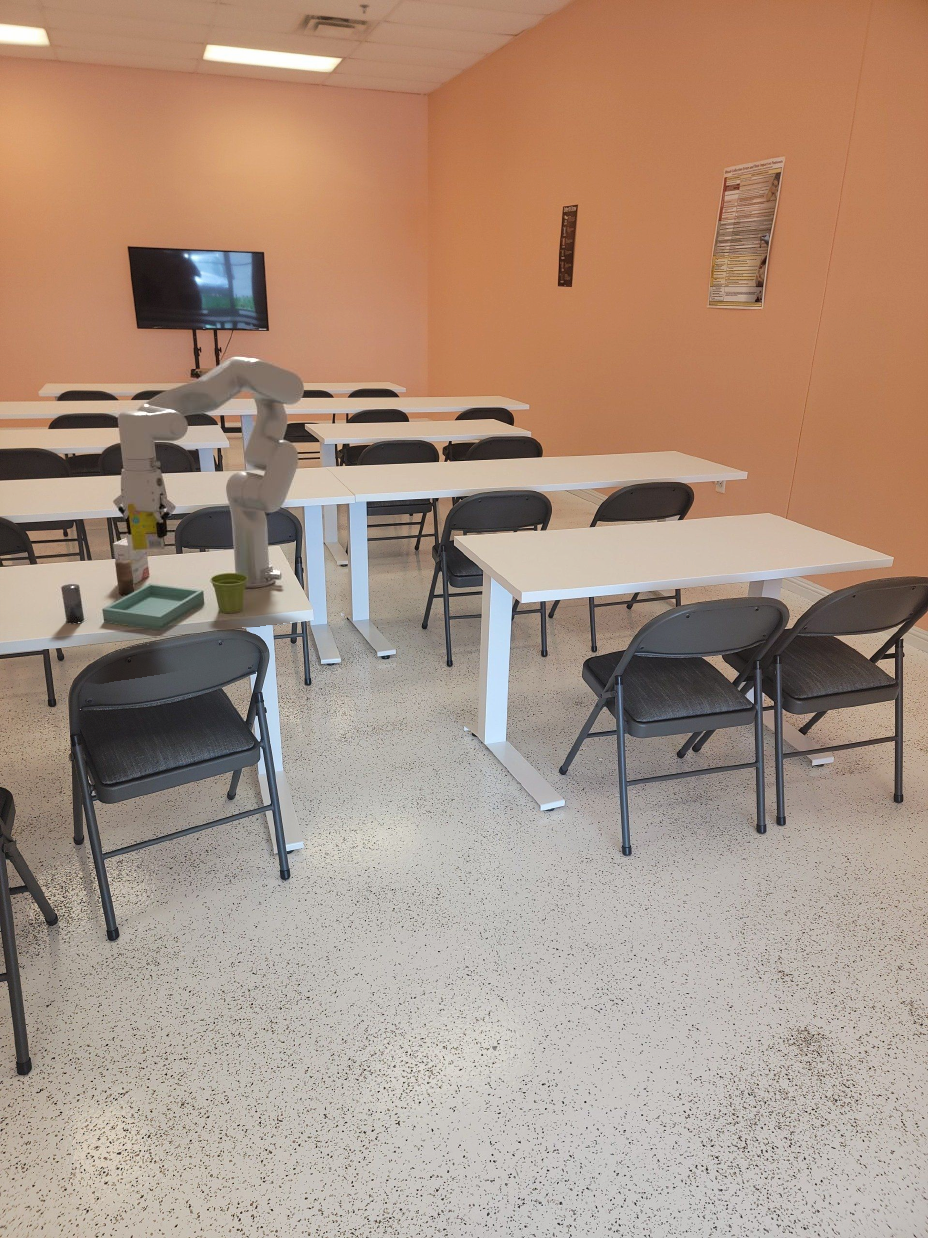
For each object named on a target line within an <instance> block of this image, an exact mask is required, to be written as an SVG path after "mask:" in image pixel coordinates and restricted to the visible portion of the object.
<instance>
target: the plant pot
mask: <svg viewBox="0 0 928 1238" xmlns="http://www.w3.org/2000/svg"><path fill="white" fill-rule="evenodd" d="M209 580H210V582H211V584H212V587H213V588H214V589H213V590H214V592H215V593H214V594H215V597H216V602H217V606H218V611H219V612H221V613H223V614H227V613H232V614H236V613H239V612H241V611H243V609H244V601H245V590H246V588H245V586H246V582H247V581H248V577H247V576H245V575H243V574H238V573H235V572H227V573H224V572H223V573H219V574H215V575H213V576H212V577H210V579H209Z"/></svg>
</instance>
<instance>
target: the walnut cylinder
mask: <svg viewBox="0 0 928 1238" xmlns="http://www.w3.org/2000/svg"><path fill="white" fill-rule="evenodd" d="M114 564H115V571H116V572H115V573H116V581H117V587H118V589H117V591H118V595H119V596H121V597H125V596H127V595H129V594H131V593H133V592H135V591H136V590H135V584H134V582H133V573H132V565H131V561H130V560H118V561H116V562H114Z"/></svg>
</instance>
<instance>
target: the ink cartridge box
mask: <svg viewBox="0 0 928 1238" xmlns="http://www.w3.org/2000/svg"><path fill="white" fill-rule="evenodd" d="M112 547H113V554H114V561H115V562H116V561H118V560H130V561H131V565H132V573H133V582H134V585H135V584H137V583H138V582H141V581H142V580H144V579H145V578H148V577H149V576H150V569H149V568H150V567H149V560H148V559H149V558H148V552H147V551H148V549H143V550H133V542H132V535H128V533H126V534H125V538H123V539H120V540H118V541H115V542H114V543H112ZM115 562H114V563H115Z"/></svg>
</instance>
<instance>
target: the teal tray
mask: <svg viewBox="0 0 928 1238" xmlns="http://www.w3.org/2000/svg"><path fill="white" fill-rule="evenodd" d="M204 595H205V594H204V589H203V590H202V589H195V588H186V587H179V586H171V585H163V584H157V583H156V584H154V583H148V584H146V585H144V586H142V587H140V588H139V589H137V590H135V592H133V593H131V594H129V595H127V596H123V597H122V598H120V599H118V600H116V601H115V602H112V603H110V604H109V605H107V606H105V607H103V608H102V609H101V610H102V617H103V622H104V623H107V622H112V623H111V624H115V623H117V624H116V625H122V624H123V626H131V627H138V628H144V629H145V628H146V629H152V630H158V631H163V630H164V629H166V628H168V627H169V626H170V625H172V624H173V623H175V622H177V621H178V620H180V619H182V618H183V617H185V616H186V615H187V614H189V613H191V612H192V611H194V610H195V609H198V607H201V606H202V605H203V604H205V596H204Z"/></svg>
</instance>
